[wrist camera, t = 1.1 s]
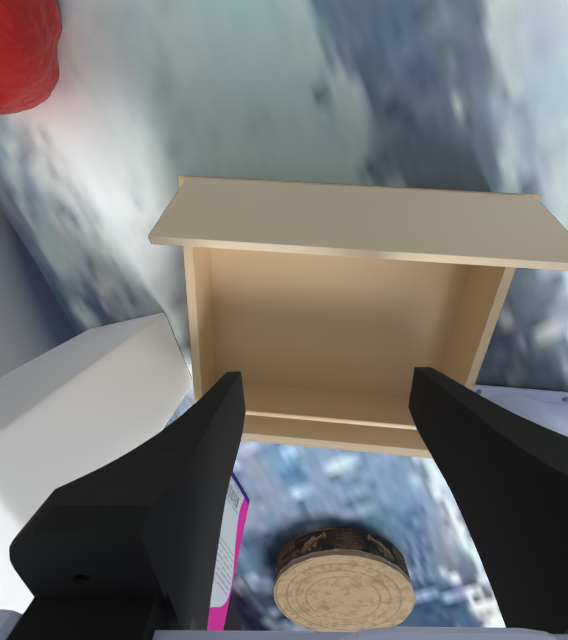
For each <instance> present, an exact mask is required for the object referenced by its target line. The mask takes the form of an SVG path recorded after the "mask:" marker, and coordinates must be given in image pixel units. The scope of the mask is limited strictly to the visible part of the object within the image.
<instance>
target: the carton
mask: <svg viewBox="0 0 568 640" xmlns="http://www.w3.org/2000/svg"><path fill="white" fill-rule="evenodd" d="M186 178H205V179H224V180H242V181H261V182H279V183H298V184H316V185H335V186H353V187H372V188H390V189H409V190H427V191H445V192H464V193H482V194H501V195H519V196H535V197H536V198H537V199H538V200H539V201H540V200H541V197H542V195H533V194H514V193H496V192H477V191H459V190H440V189H422V188H403V187H385V186H366V185H348V184H329V183H311V182H292V181H273V180H255V179H236V178H218V177H199V176H181V175H178V184H179V188H180V187H181V185H182V184H183V182H184V181H185V179H186ZM183 252H184V265H185V279H186V292H187V305H188V319H189V332H190V346H191V359H192V373H193V386H194V400H195V403H196V402H197V401H198V400H199V399H200V398H201V397H202V396H203V395H204V394H205V393H206V392H207V391H208V390H209V389H210V388H211V387H212V386H213V385H214V384H215V383H216V382H217V381H218V380H219V379H220V378H221V377H222V376H223V375H224V374H225V373H226V372H235V371H241V375H242V384H243V392H244V400H245V409H246V412H245V414H247V415H258V416H269V417H280V418H291V419H302V420H313V421H324V422H335V423H346V424H357V425H368V426H380V427H391V428H402V429H413V430H417V428H416V426H415V423H414V421H413V418H412V416H411V413H410V411H409V408H408V405H409V399H410V393H411V387H412V380H413V374H414V368H415V367H431V368H433V369H435V370H437V371H439V372H441V373H443V374H444V375H446V376H448V377H450V378H451V379H453V380H455V381H456V382H458V383H460V384H461V385H463V386H465V387H467V388H468V389H470V390H472V391H473V388H474V385H475V382H476V379H477V377H478V374H479V371H480V368H481V365H482V363H483V360H484V357H485V354H486V351H487V349H488V346H489V343H490V340H491V337H492V334H493V332H494V329H495V326H496V323H497V320H498V318H499V315H500V312H501V309H502V306H503V304H504V301H505V298H506V295H507V292H508V289H509V287H510V284H511V281H512V278H513V275H514V273H515V270H516V268H515V267H500V266H484V265H469V264H454V263H438V262H423V261H407V260H392V259H376V258H361V257H346V256H330V255H315V254H299V253H284V252H269V251H253V250H238V249H222V248H207V247H192V246H183Z"/></svg>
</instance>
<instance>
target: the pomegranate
mask: <svg viewBox="0 0 568 640" xmlns="http://www.w3.org/2000/svg"><path fill="white" fill-rule="evenodd" d="M61 30H62V25H61V18H60V12H59V8H58V4H57V2H56V0H0V114H10V113H17V112H21V111H23V110H27V109H31V108H34V107H36V106H37V105H39V104H40V103H42V102H44V101H45V100H46V99H48V98H49V96H50V95H51V92H52V91H53V89H54V88H55V86H56V83H57V81H58V78H59V68H58V63H57V53H56V44H57V42H58V40H59V38H60V33H61Z"/></svg>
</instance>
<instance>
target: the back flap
mask: <svg viewBox="0 0 568 640" xmlns="http://www.w3.org/2000/svg"><path fill="white" fill-rule="evenodd" d="M241 440H243V441H254V442H265V443H275V444H286V445H296V446H307V447H318V448H328V449H339V450H349V451H360V452H371V453H381V454H392V455H402V456H413V457H424V458H433V457H432V456H431V454H430V452H429V450H428V449H427V447H426V445H425V443H424V441H423V440H422V438H421V436H420V434H419V432H418V430H413V429H402V428H391V427H380V426H368V425H357V424H346V423H335V422H324V421H313V420H302V419H291V418H280V417H269V416H258V415H247V414H245V420H244V427H243V433H242V437H241Z"/></svg>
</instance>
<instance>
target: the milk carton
mask: <svg viewBox="0 0 568 640" xmlns="http://www.w3.org/2000/svg"><path fill="white" fill-rule="evenodd" d="M192 383H193V381H192V378H191V376H190V373H189V371H188V368H187V366H186V364H185V361H184V359H183V356H182V354H181V351H180V349H179V347H178V344H177V342H176V339H175V337H174V334H173V332H172V330H171V327H170V325H169V322H168V320H167V318H166V315H165V314H164V313H158V314H154V315H149V316H145V317H140V318H136V319H131V320H127V321H122V322H118V323H113V324H109V325H104V326H100V327H95V328H91V329H89V330H87V331H85V332H83V333H81V334H79V335H78V336H76V337H74V338H72V339H70V340H68V341H67V342H65V343H63V344H61V345H59V346H57V347H56V348H54V349H52V350H50V351H48V352H46V353H45V354H43V355H41V356H39V357H37V358H36V359H34V360H32V361H30V362H28V363H26V364H24V365H23V366H21V367H19V368H17V369H16V370H13V371H12V372H10V373H8V374H6V375H4V376H2V377H1V378H0V609H6V610H13V611H16V612H18V613H21V614H22V613H24V612H25V611H26V609H27V608H28V606H29V605H30V603H31V602H32V600H33V598H34V596H33V595H32V593H31V592H30V590H29V589H28V588H27V586H26V585H25V583H24V582H23V581H22V579H21V578H20V577H19V575H18V574H17V572H16V571H15V570H14V568H13V566H12V564H11V562H10V557H9V547H10V545H11V543H12V541H13V539H14V538H15V537H16V536H17V534H18V533H19V532H20V531H21V529H22V528H23V527H24V526H25V525H26V523H27V522H28V521H29V520H30V519H31V517H32V516H33V515H34V514H35V512H36V511H37V510H38V509H39V508H40V506H41V505H42V504H43V503H44V502H45V500H46V499H47V498H48V497H49V495H50V494H51V493H52V492H53V491H54V490H55V489H56V488H58V487H61V486H63V485H65V484H67V483H69V482H72V481H74V480H76V479H78V478H80V477H82V476H84V475H86V474H89V473H91V472H93V471H95V470H97V469H99V468H101V467H103V466H105V465H106V464H108V463H110V462H112V461H114V460H116V459H118V458H119V457H121V456H123V455H125V454H126V453H128V452H130V451H131V450H133V449H135V448H136V447H138V446H139V445H141V444H143V443H144V442H146V441H147V440H149V439H150V438H152V437H153V436H155V435H156V434H158V433H159V432H161V431H162V430H163V429H164V427H165V425H166V424H167V422H168V421H169V419H170V418H171V416H172V415H173V413H174V412H175V410H176V408H177V407H178V405H179V404H180V402H181V401H182V399H183V398H184V396H185V395H186V393H187V392H188V390H189V388H190V387H191V385H192Z"/></svg>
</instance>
